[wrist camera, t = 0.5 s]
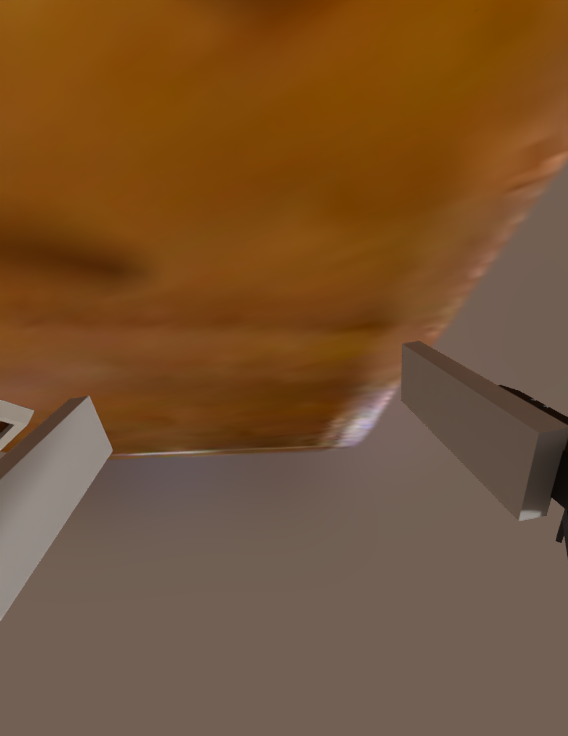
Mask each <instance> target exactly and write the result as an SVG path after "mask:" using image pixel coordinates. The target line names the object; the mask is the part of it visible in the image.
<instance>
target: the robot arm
mask: <svg viewBox="0 0 568 736" xmlns="http://www.w3.org/2000/svg"><path fill="white" fill-rule="evenodd" d="M401 401H402V402H403V403H404V404H405V405H406V406H407V407H408V408H409V409H410V410H411V411H412V412H413V413H414V414H415V415H416V416H417V417H418V418H419V419H420V420H421V421H422V422H423V423H424V424H425V425H426V426H427V427H428V428H429V429H430V430H431V431H432V432H433V433H434V434H435V436H437V438H438V439H439V440H440V441H441V442H442V443H443V444H444V445H445V446H446V447H447V448H448V449H449V450H450V451H451V452H452V453H453V454H454V455H455V456H456V457H457V458H458V459H459V460H460V461H461V462H462V463H463V464H464V465H465V466H466V467H467V468H468V469H469V471H470V472H471V473H472V474H473V475H474V476H475V477H476V478H477V479H478V480H479V481H480V482H481V483H482V484H483V485H484V486H485V487H486V488H487V489H488V490H489V491H490V492H491V493H492V494H493V495H494V496H495V497H496V498H497V499H498V500H499V501H500V502H501V503H502V504H503V505H504V507H505V508H506V509H507V510H508V511H509V512H510V513H511V514H512V515H513V516H514V517H515V518H516V519H517V520H518V521H522V520H526V519H531V518H537V517H541V516H546V515H547V512H548V508H549V505H550V501H551V498H553V499H554V500H555V501H557V502H558V503H559V504H560V505H561V506H563V507H564V508H565V511H564V514H563V517H562V520H561V524H560V527H559V530H558V533H557V538H556V541H557V542H560V543H561V542H562V539H563V537H564V536H565V543H566V549H567V556H568V417H566V416H564V415H563V414H561V413H559V412H557V411H555V410H553V409H552V408H550V407H548V408H547V407H546V405H544V404H542V403H540V402H539V401H537V400H536V401H534V399H533V398H531V397H530V396H528V395H526V394H524V393H522V392H520V391H518V390H515V389H511V388H509V387H505V386H502V385H496V384H494V383H493V382H491V381H489V380H487V379H486V378H483V377H482V376H480V375H478V374H477V373H475V372H473V371H472V370H470V369H468V368H466V367H465V366H463V365H461V364H459V363H458V362H456V361H454V360H452V359H451V358H449V357H447V356H445V355H444V354H442V353H440V352H438V351H437V350H435V349H433V348H431V347H430V346H428V345H426V344H424V343H422V342H421V341H415V342H409V343H403V344H402V380H401ZM112 451H113V450H112V447H111V445H110V443H109V440H108V438H107V436H106V433H105V431H104V429H103V427H102V424H101V422H100V420H99V417H98V415H97V413H96V411H95V408H94V406H93V404H92V401H91V399H90V397H89V396H83V397H77V398H71V399H69V400H68V401H67V402H65V403H64V404H63V405H62V406H61V407H60V408H58V409H57V410H56V411H55V412H54V413H53V414H52V415H50V416H49V417H48V418H47V419H46V420H45V421H43V422H42V423H41V424H40V425H39V426H38V427H37V428H35V429H34V430H33V431H32V432H31V433H30V434H28V435H27V436H26V437H25V438H24V439H23V440H21V441H20V442H19V443H18V444H17V445H16V446H15V447H13V448H12V449H11V450H10V451H9V452H8V453H6V454H5V455H4V456H3V457H2V458H1V459H0V621H1V619H2V618H3V616H4V615H5V613H6V612H7V610H8V609H9V607H10V606H11V604H12V603H13V601H14V600H15V598H16V597H17V595H18V594H19V592H20V591H21V589H22V588H23V586H24V584H25V583H26V581H27V580H28V578H29V577H30V575H31V574H32V572H33V571H34V569H35V568H36V566H37V565H38V563H39V562H40V560H41V559H42V557H43V556H44V554H45V553H46V551H47V550H48V548H49V547H50V545H51V544H52V542H53V540H54V539H55V538H56V536H57V534H58V533H59V531H60V530H61V528H62V527H63V525H64V524H65V522H66V521H67V519H68V518H69V516H70V515H71V513H72V512H73V510H74V509H75V507H76V506H77V504H78V503H79V501H80V500H81V498H82V496H83V495H84V494H85V492H86V490H87V489H88V487H89V486H90V484H91V483H92V481H93V480H94V478H95V477H96V475H97V474H98V472H99V471H100V469H101V468H102V466H103V465H104V463H105V462H106V460H107V459H108V457H109V456H110V454H111V453H112Z"/></svg>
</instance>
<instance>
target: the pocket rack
mask: <svg viewBox="0 0 568 736" xmlns="http://www.w3.org/2000/svg"><path fill="white" fill-rule="evenodd" d="M33 413H34V410H31V409H28V408H25V407H22V406H19V405H15V404H12V403H9V402H6V401H3V400H0V421H3V422H6V423H10V424H9V425H8V426H7V427H6V428H5V429H4V430H3V431H2V432H1V433H0V450H1V449H2V448H4V447H5V446H6V445H7V444H8V443H9V442H10V441H11V440H12V439H13V438H14V437H15V436H16V435H17V434H18V433H19V432H20V431H21V430H22V429H23V428H24V427H25V426H27V425H28V423H29V421H30V419H31V417H32V415H33Z"/></svg>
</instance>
